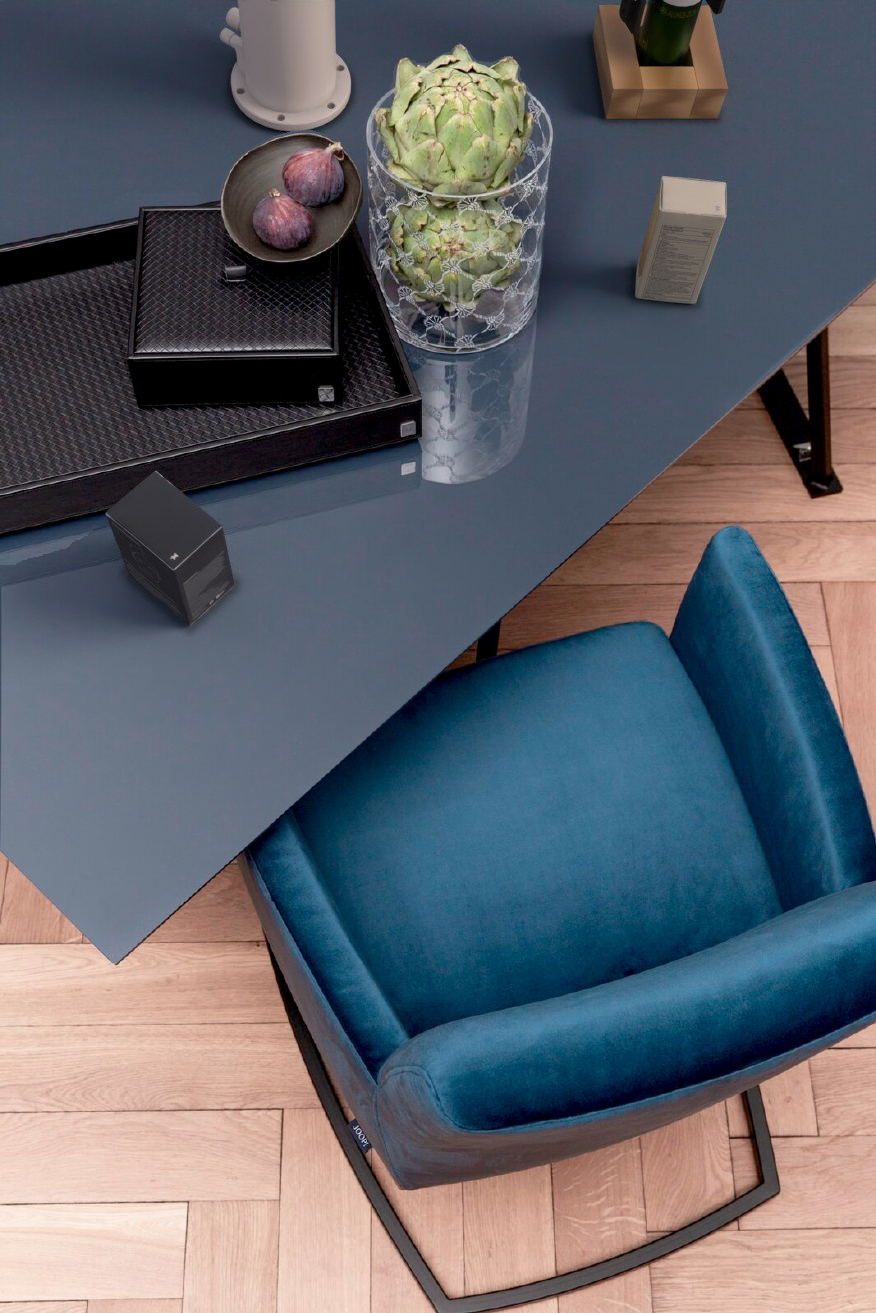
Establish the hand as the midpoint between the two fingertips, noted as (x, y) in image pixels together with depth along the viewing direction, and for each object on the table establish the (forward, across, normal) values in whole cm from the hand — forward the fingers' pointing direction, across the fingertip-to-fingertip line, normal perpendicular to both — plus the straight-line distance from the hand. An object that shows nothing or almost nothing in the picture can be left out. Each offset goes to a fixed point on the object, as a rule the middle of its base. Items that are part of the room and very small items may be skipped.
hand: (670, 14), depth 125 cm
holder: (+8, 0, 0) cm, 8 cm away
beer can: (+8, 0, 0) cm, 8 cm away
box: (+8, +66, +42) cm, 78 cm away
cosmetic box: (+8, +11, +26) cm, 30 cm away
